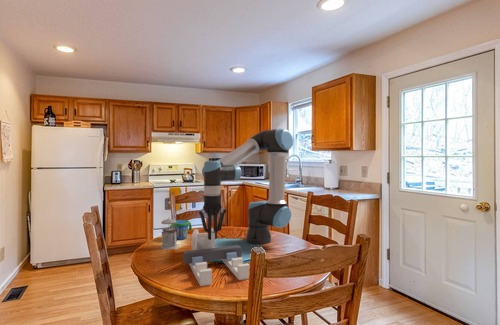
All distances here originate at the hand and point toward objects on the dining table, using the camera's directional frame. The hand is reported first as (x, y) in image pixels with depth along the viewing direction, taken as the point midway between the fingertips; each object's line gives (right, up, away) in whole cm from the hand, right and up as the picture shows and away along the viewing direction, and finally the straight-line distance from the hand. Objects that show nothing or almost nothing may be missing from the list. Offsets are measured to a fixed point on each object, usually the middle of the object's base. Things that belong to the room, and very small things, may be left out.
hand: (212, 246), depth 136 cm
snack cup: (-25, -8, +45) cm, 52 cm away
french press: (-27, -8, +27) cm, 39 cm away
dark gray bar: (0, -6, 0) cm, 6 cm away
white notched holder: (+3, -8, -7) cm, 12 cm away
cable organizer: (-7, -9, +15) cm, 19 cm away
